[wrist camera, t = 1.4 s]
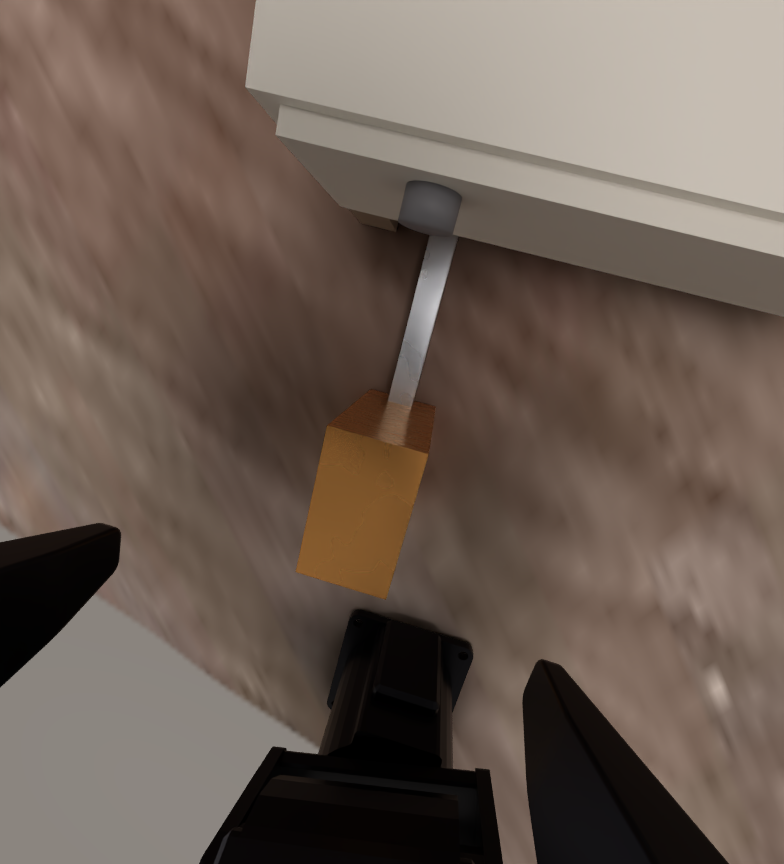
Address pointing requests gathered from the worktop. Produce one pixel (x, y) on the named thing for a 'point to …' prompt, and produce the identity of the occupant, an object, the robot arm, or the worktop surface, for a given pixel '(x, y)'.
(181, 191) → the worktop surface
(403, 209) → the gray overhanging block
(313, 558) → the blade tool
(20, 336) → the worktop surface
